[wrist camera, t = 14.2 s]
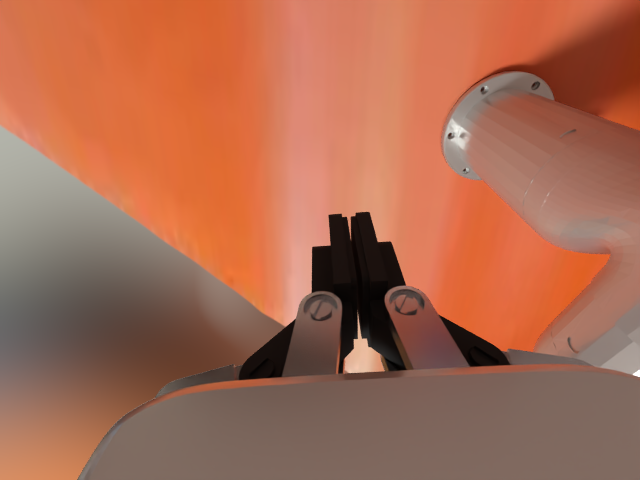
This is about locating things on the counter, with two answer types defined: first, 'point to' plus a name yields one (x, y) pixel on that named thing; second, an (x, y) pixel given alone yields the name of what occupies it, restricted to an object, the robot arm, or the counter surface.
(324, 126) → the counter surface
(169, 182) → the counter surface
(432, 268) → the counter surface
